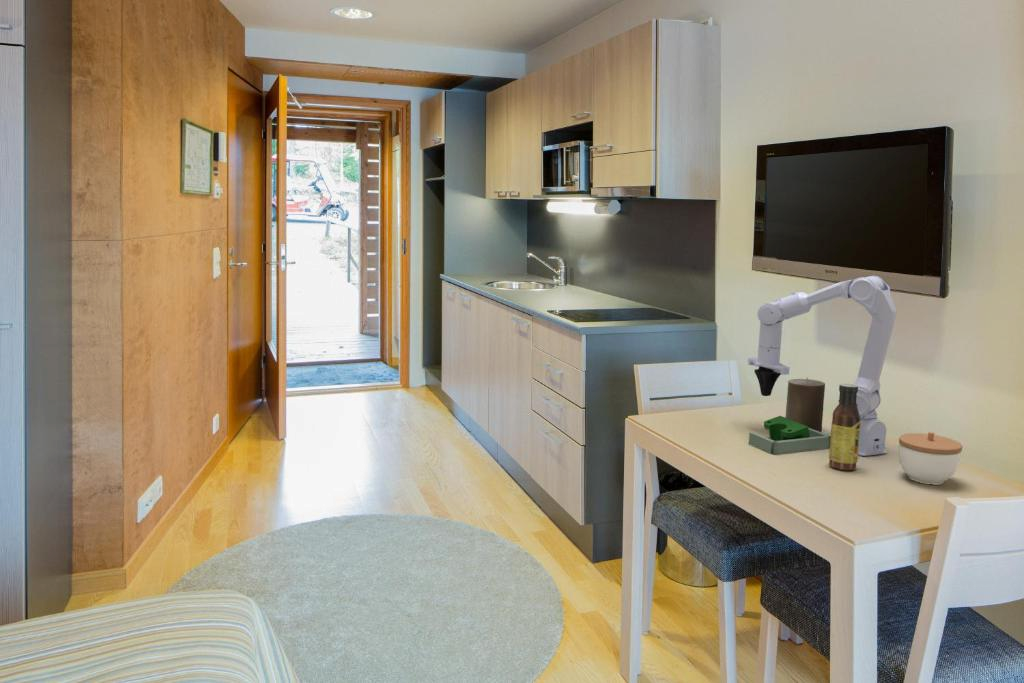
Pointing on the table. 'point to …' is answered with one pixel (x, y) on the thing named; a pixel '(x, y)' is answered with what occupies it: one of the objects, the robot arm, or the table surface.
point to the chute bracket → (791, 443)
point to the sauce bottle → (845, 430)
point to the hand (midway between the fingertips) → (765, 395)
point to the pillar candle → (806, 402)
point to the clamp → (785, 429)
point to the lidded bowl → (929, 457)
